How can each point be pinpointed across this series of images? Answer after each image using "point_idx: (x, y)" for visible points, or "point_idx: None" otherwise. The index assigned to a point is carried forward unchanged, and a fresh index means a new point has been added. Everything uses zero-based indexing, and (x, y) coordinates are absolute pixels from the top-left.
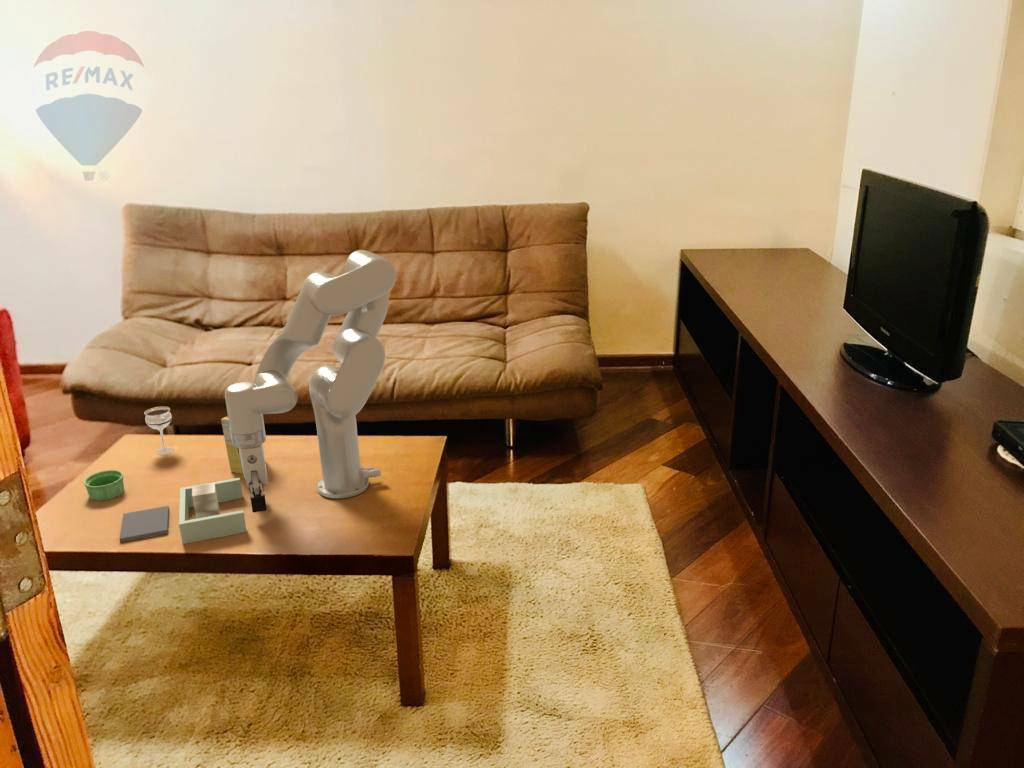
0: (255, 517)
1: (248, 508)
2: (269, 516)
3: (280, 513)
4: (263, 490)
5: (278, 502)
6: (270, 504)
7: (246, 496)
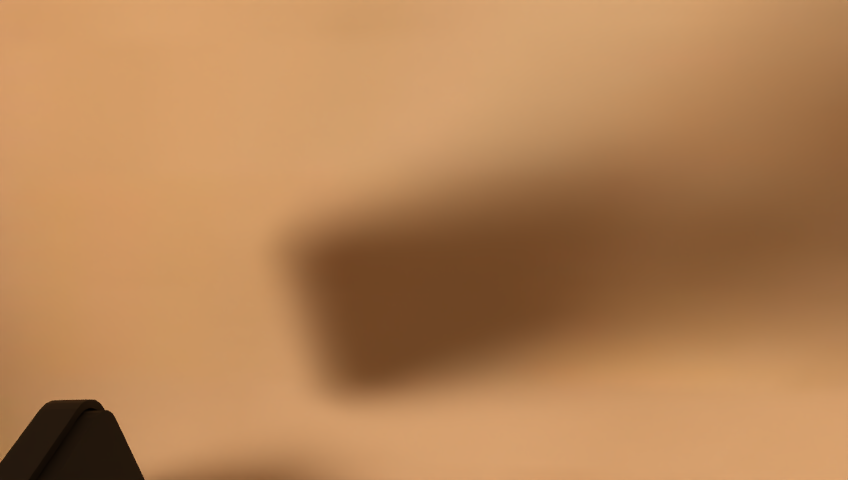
0: (697, 397)
1: (380, 461)
2: (770, 215)
3: (745, 22)
4: (81, 408)
5: (263, 70)
6: (317, 201)
7: None
